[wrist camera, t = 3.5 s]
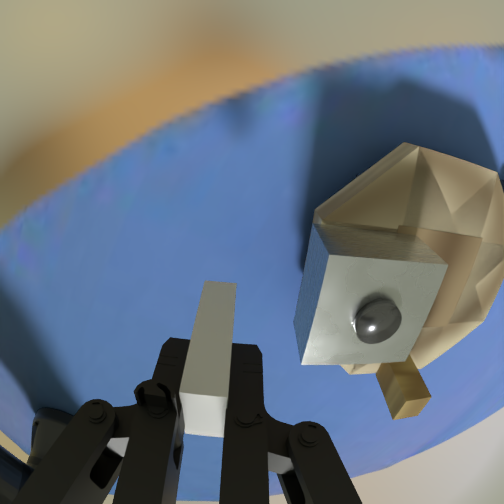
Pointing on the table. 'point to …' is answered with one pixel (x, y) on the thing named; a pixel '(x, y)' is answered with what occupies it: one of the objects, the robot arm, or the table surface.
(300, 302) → the cover
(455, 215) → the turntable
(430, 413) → the table surface
